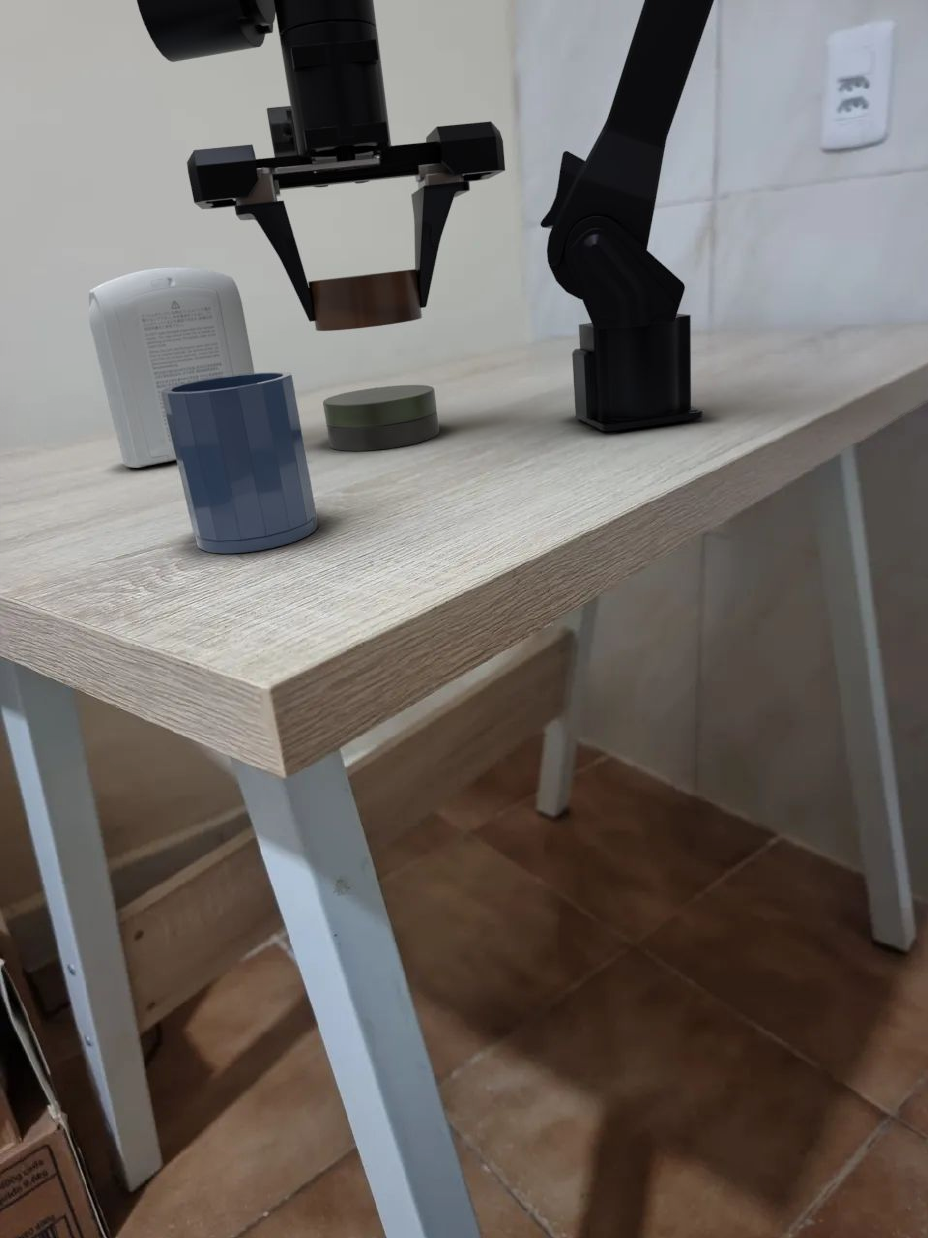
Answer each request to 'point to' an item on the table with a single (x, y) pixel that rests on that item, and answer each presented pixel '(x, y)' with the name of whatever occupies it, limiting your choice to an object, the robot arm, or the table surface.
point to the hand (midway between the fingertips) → (368, 314)
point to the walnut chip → (365, 300)
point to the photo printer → (163, 347)
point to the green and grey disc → (381, 417)
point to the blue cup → (242, 461)
